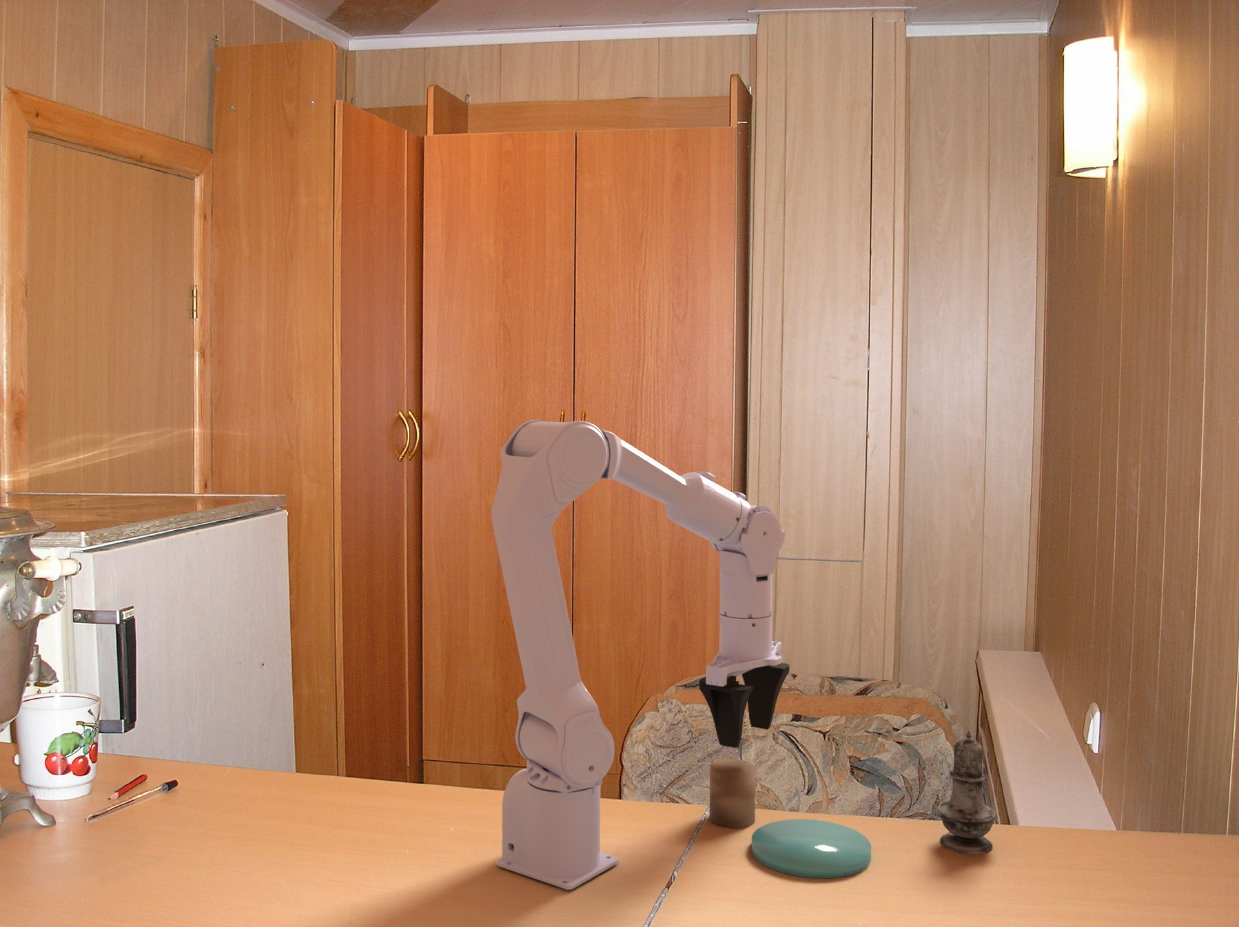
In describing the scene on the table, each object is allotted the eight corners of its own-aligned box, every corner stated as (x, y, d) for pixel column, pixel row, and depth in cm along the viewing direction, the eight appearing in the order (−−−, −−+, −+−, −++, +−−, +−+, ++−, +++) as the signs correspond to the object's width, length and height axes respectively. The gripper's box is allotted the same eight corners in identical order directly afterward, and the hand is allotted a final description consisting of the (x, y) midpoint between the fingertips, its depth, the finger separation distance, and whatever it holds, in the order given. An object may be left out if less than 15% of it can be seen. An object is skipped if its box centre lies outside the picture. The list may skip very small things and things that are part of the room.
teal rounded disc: (730, 857, 109) (730, 845, 109) (785, 821, 119) (785, 810, 119) (840, 889, 102) (840, 876, 102) (889, 848, 112) (889, 836, 112)
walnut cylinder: (701, 821, 119) (701, 767, 119) (724, 808, 123) (724, 756, 123) (740, 832, 116) (741, 777, 116) (763, 818, 120) (763, 765, 120)
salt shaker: (999, 857, 110) (1002, 741, 109) (939, 852, 111) (942, 737, 110) (991, 835, 115) (994, 724, 115) (934, 830, 117) (937, 721, 116)
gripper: (749, 629, 109) (748, 761, 110) (806, 606, 122) (805, 725, 122) (688, 622, 113) (688, 749, 114) (750, 600, 125) (749, 715, 126)
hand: (745, 736), depth 118 cm, fingers open, 7 cm apart
